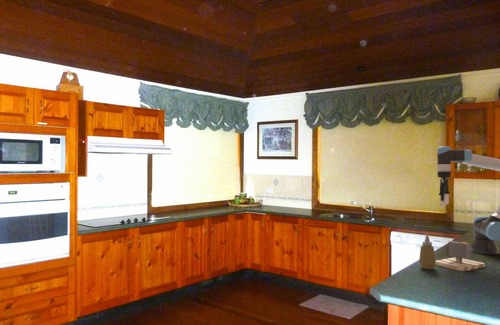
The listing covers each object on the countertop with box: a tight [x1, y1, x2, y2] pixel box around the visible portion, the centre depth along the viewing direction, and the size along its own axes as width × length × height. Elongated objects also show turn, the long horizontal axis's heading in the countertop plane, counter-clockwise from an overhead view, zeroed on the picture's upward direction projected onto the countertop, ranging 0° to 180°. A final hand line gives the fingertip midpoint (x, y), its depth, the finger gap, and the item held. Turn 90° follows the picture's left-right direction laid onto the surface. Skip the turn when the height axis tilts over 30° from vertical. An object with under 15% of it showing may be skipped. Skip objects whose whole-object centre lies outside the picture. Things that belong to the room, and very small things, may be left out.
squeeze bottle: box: [418, 234, 436, 271], centre depth 215 cm, size 8×8×18 cm
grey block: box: [448, 240, 471, 260], centre depth 221 cm, size 10×4×8 cm, turn 34°
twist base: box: [434, 257, 486, 272], centre depth 221 cm, size 20×17×4 cm
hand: (444, 205), depth 247 cm, fingers open, 13 cm apart
